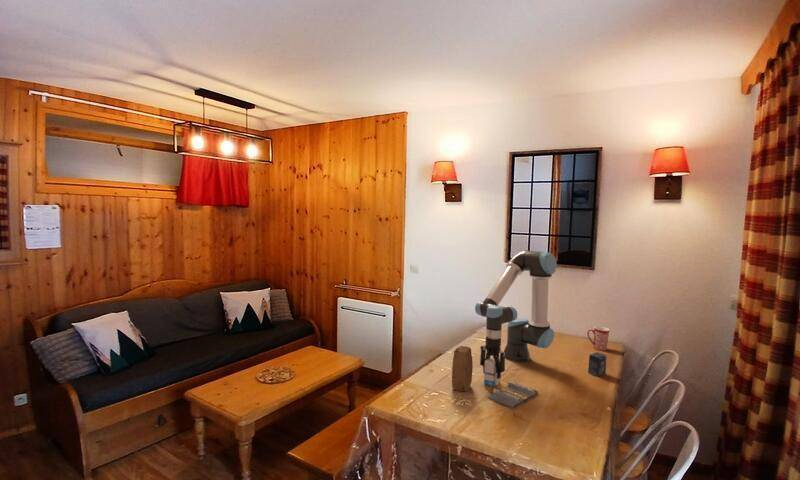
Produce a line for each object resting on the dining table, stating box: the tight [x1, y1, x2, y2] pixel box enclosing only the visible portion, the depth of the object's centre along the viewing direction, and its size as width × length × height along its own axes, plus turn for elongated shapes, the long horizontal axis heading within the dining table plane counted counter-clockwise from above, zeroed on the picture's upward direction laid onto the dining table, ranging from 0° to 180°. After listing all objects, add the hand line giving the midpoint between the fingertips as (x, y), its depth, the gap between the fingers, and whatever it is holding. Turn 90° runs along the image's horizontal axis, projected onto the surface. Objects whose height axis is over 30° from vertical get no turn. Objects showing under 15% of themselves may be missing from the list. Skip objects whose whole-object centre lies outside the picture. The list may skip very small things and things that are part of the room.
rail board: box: [487, 381, 539, 410], centre depth 182 cm, size 13×22×3 cm, turn 132°
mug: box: [587, 326, 610, 352], centre depth 251 cm, size 13×9×14 cm
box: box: [587, 351, 608, 377], centre depth 211 cm, size 8×6×11 cm
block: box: [451, 345, 474, 392], centre depth 189 cm, size 11×8×20 cm
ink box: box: [483, 356, 500, 387], centre depth 196 cm, size 9×5×12 cm, turn 144°
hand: (491, 382), depth 196 cm, fingers closed on ink box, 6 cm apart
